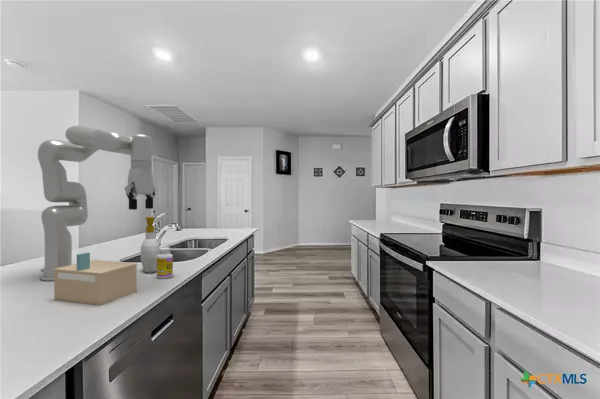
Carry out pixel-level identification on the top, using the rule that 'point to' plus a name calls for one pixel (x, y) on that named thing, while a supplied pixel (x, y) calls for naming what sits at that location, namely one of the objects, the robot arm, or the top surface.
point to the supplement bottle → (164, 263)
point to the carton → (94, 286)
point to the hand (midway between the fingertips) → (141, 209)
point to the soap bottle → (149, 248)
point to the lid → (94, 266)
